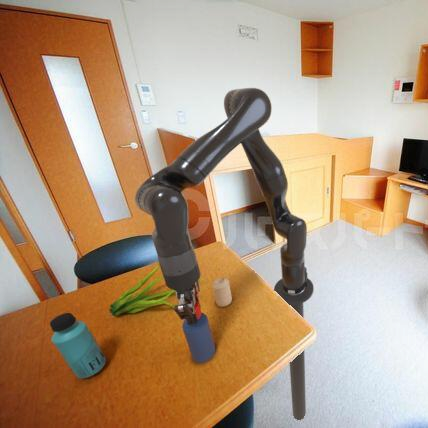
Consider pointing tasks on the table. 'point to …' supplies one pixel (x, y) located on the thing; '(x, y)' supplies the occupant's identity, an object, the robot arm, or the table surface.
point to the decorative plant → (140, 297)
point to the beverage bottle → (77, 345)
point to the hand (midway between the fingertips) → (194, 316)
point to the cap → (196, 310)
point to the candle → (222, 292)
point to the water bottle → (199, 339)
